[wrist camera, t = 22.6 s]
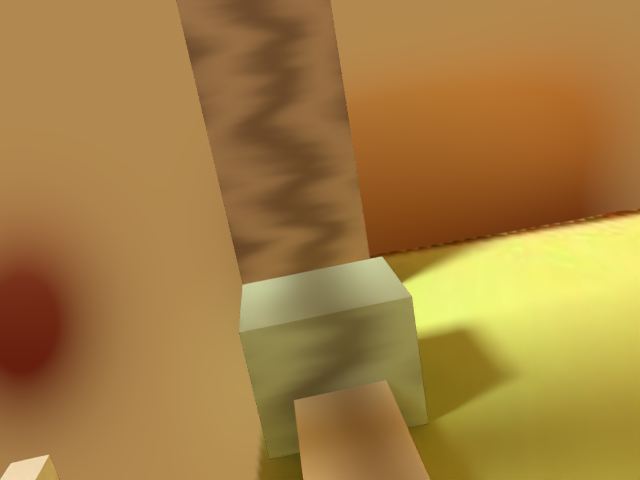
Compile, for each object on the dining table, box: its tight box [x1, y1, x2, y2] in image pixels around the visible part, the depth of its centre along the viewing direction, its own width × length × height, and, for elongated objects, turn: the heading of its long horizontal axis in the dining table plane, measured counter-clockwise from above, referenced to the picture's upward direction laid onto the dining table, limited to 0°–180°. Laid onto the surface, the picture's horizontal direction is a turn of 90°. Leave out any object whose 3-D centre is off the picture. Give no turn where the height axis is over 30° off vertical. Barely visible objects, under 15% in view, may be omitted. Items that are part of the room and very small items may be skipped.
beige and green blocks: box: [239, 257, 430, 480], centre depth 23 cm, size 8×16×7 cm, turn 6°
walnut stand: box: [176, 0, 370, 285], centre depth 40 cm, size 10×6×30 cm, turn 97°
